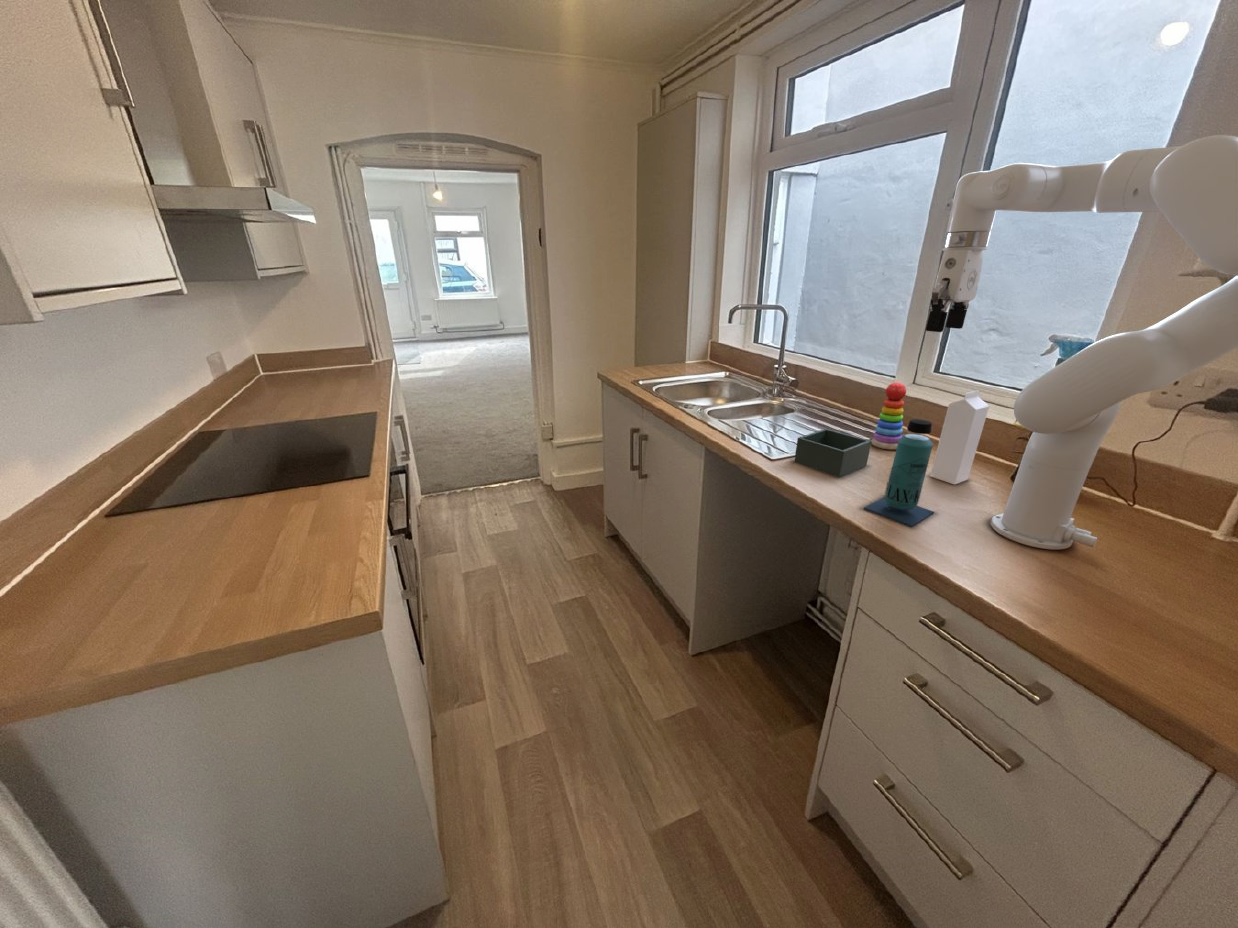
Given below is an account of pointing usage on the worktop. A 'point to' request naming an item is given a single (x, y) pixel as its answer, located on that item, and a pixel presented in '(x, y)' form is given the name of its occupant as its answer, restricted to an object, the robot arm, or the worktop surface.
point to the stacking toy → (890, 418)
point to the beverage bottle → (909, 466)
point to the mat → (899, 513)
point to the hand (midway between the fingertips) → (944, 329)
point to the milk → (959, 439)
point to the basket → (832, 452)
